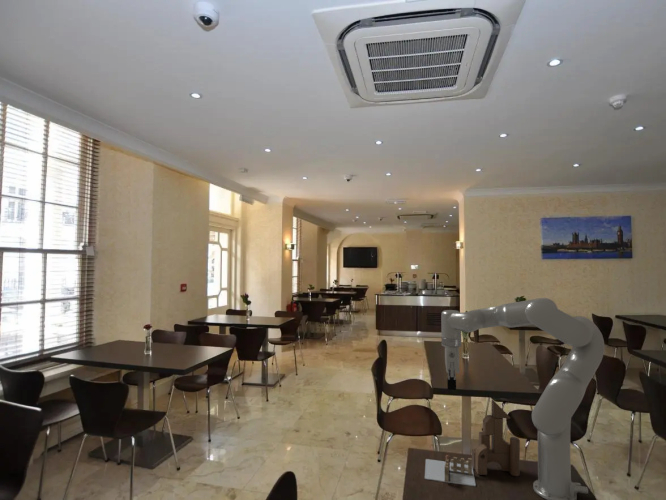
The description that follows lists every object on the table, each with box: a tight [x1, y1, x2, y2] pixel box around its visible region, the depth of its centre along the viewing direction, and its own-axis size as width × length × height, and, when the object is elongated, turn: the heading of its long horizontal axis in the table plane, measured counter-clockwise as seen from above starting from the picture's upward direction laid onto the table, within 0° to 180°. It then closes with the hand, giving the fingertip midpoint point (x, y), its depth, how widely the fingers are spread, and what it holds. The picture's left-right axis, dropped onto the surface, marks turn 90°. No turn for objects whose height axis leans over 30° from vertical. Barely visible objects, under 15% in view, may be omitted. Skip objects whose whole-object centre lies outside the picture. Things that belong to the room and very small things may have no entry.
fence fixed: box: [450, 456, 472, 475], centre depth 140 cm, size 7×1×6 cm, turn 75°
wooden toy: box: [471, 399, 521, 477], centre depth 142 cm, size 15×7×25 cm, turn 88°
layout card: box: [424, 458, 477, 487], centre depth 141 cm, size 17×14×1 cm
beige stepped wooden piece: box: [445, 454, 451, 483], centre depth 138 cm, size 9×1×5 cm, turn 161°
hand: (451, 389), depth 151 cm, fingers closed
